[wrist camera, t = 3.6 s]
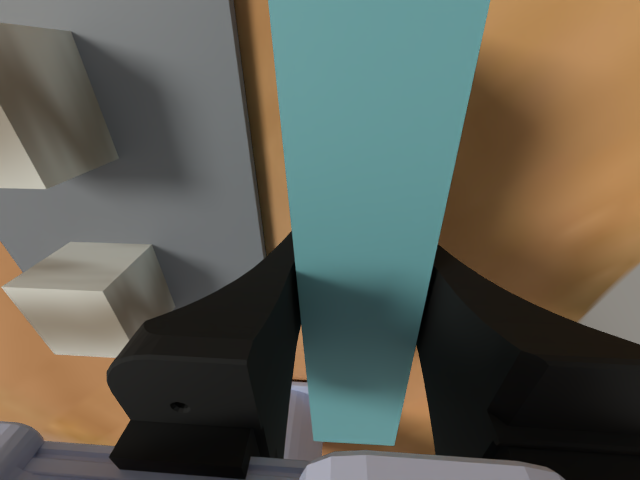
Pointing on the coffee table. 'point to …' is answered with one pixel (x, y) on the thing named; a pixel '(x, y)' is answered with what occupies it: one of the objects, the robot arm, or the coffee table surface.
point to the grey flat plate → (152, 143)
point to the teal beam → (368, 187)
